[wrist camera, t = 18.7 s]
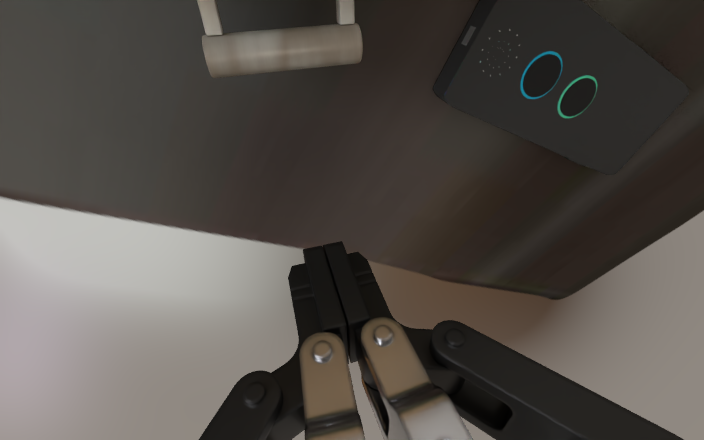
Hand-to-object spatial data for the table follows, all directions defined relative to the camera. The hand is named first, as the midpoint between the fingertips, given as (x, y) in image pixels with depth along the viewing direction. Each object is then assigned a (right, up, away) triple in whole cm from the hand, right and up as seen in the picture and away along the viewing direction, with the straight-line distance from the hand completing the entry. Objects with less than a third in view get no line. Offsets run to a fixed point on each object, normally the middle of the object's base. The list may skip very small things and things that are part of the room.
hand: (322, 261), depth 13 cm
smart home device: (+17, +11, +12) cm, 23 cm away
